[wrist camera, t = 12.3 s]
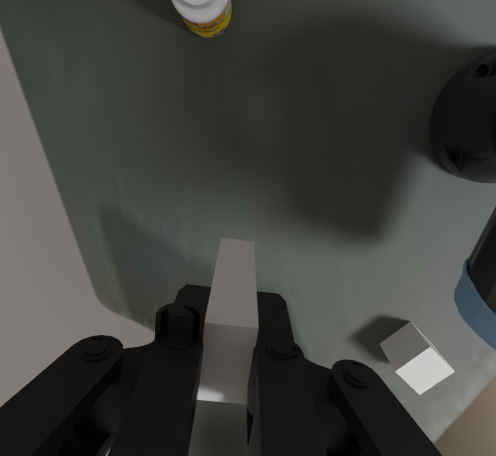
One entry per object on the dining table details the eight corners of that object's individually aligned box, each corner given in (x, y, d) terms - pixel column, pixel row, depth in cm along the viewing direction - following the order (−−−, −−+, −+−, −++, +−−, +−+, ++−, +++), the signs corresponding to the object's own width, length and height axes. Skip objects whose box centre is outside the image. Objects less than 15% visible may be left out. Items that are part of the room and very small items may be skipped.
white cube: (410, 320, 51) (430, 346, 46) (432, 343, 53) (455, 371, 47) (378, 343, 53) (395, 371, 47) (401, 365, 54) (419, 395, 48)
